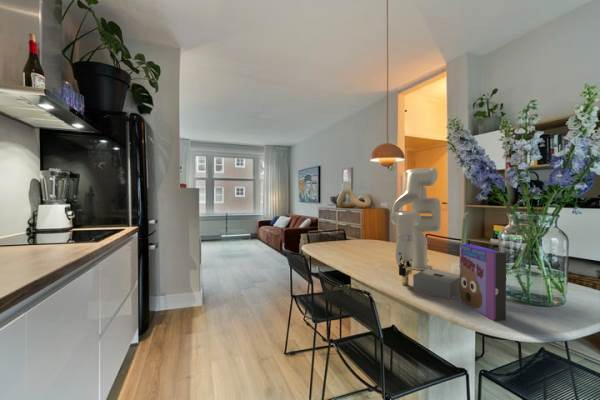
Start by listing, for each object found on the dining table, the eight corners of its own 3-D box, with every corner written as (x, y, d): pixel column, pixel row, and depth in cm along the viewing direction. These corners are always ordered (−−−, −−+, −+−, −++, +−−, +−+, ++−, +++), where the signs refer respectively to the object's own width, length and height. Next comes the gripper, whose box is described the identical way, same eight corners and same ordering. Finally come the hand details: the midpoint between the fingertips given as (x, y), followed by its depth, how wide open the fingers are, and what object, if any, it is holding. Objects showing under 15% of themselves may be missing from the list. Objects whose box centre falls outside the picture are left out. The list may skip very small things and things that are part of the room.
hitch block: (428, 282, 138) (428, 268, 138) (463, 290, 127) (463, 275, 126) (413, 289, 128) (413, 274, 128) (450, 299, 116) (450, 283, 116)
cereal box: (459, 301, 113) (459, 244, 113) (470, 301, 114) (470, 243, 113) (493, 321, 96) (493, 252, 96) (505, 320, 96) (506, 252, 96)
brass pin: (402, 282, 139) (402, 264, 139) (412, 284, 135) (412, 266, 135) (397, 284, 135) (397, 266, 135) (407, 287, 131) (407, 268, 131)
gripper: (406, 235, 143) (406, 269, 143) (389, 238, 132) (389, 276, 132) (420, 236, 137) (420, 272, 138) (403, 240, 126) (404, 279, 126)
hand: (405, 274), depth 135 cm, fingers closed on brass pin, 5 cm apart
